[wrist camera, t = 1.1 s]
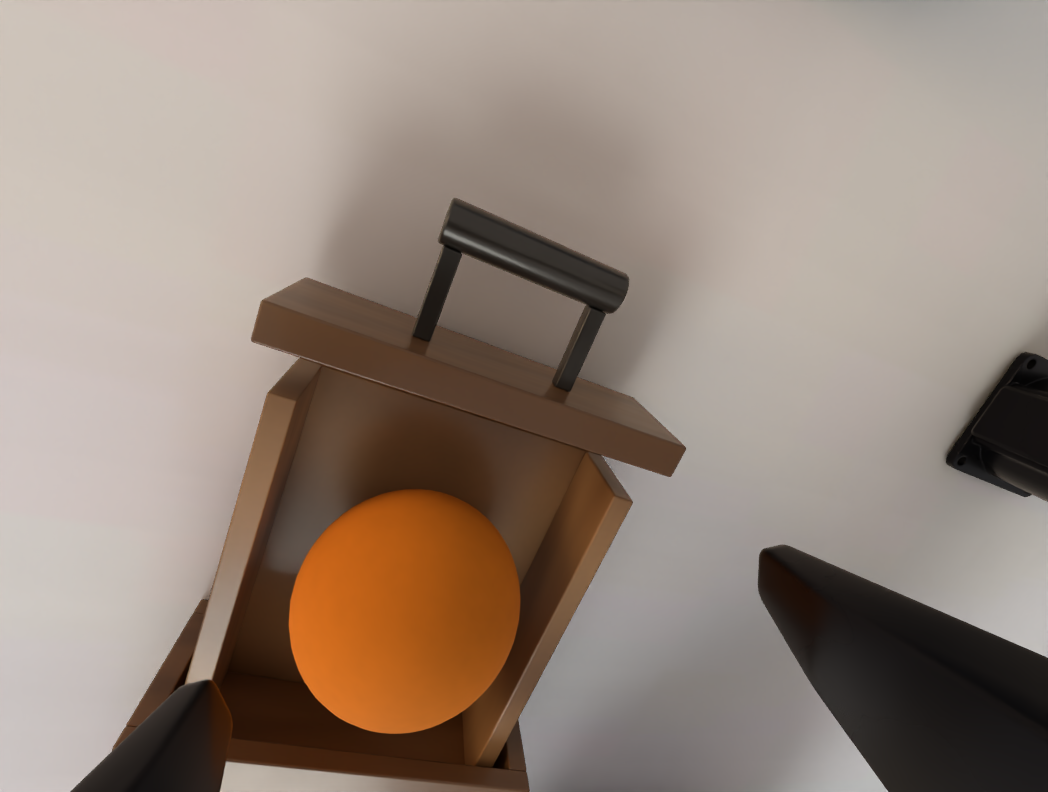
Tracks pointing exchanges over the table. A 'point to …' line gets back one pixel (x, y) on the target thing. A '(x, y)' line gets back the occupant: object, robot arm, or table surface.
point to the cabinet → (327, 752)
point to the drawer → (423, 477)
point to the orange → (404, 611)
